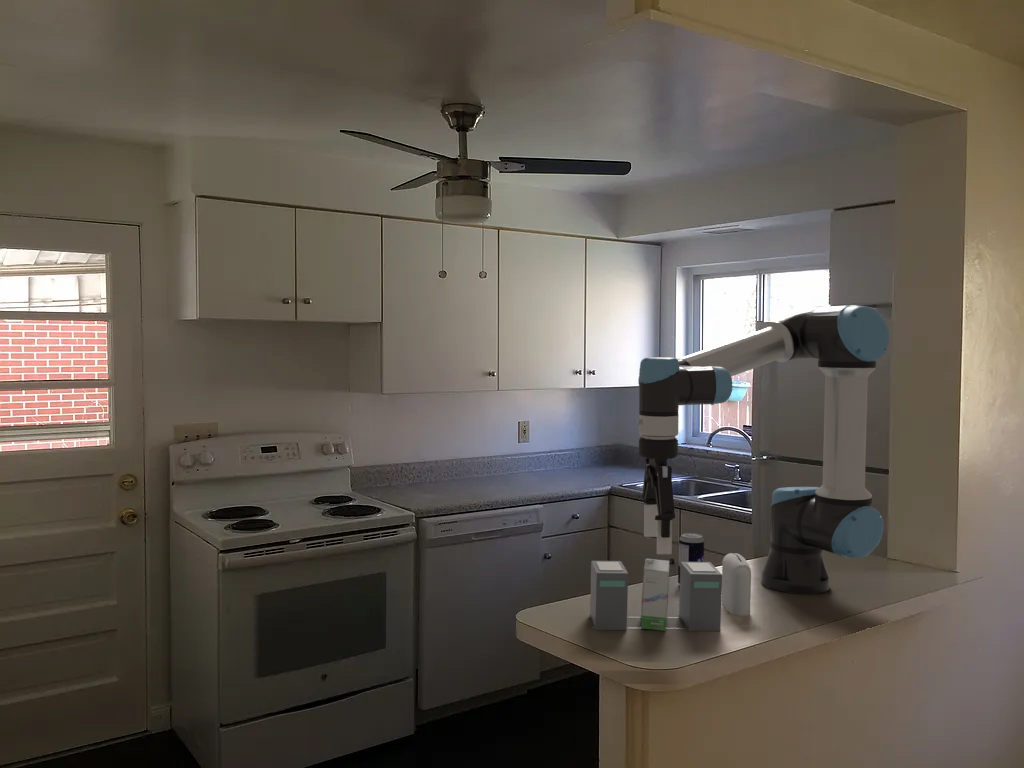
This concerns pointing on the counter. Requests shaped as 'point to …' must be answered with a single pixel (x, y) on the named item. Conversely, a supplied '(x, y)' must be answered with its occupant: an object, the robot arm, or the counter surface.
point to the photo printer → (736, 584)
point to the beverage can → (690, 549)
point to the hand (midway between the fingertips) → (657, 544)
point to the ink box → (655, 594)
